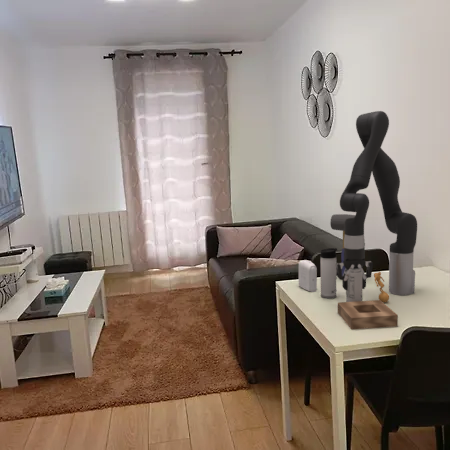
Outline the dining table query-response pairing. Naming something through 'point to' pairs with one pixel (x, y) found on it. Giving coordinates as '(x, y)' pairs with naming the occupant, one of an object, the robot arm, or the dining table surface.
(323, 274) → the travel mug
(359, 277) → the energy drink can
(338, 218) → the rubber mallet
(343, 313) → the wooden square frame
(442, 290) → the dining table surface
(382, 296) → the figurine
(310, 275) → the photo printer
